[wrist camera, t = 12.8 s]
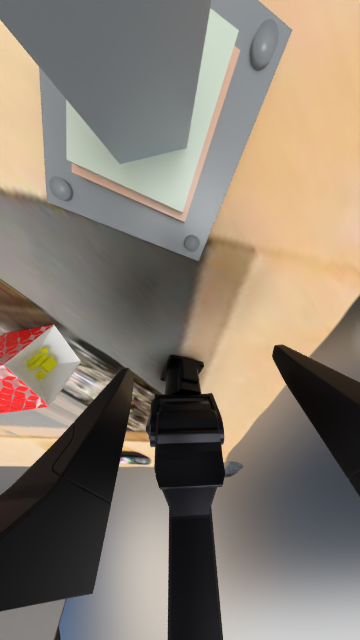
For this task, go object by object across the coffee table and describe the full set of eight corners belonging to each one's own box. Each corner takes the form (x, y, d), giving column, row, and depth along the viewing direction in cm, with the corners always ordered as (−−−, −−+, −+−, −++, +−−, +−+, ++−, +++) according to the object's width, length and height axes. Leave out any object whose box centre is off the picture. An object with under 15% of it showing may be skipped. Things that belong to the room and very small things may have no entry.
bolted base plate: (197, 260, 19) (203, 267, 15) (52, 203, 15) (18, 195, 12) (284, 42, 11) (334, -42, 8) (36, -165, 8) (-72, -475, 4)
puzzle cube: (81, 361, 27) (49, 406, 20) (39, 368, 27) (-5, 414, 20) (53, 323, 23) (2, 364, 16) (5, 332, 23) (-64, 375, 16)
